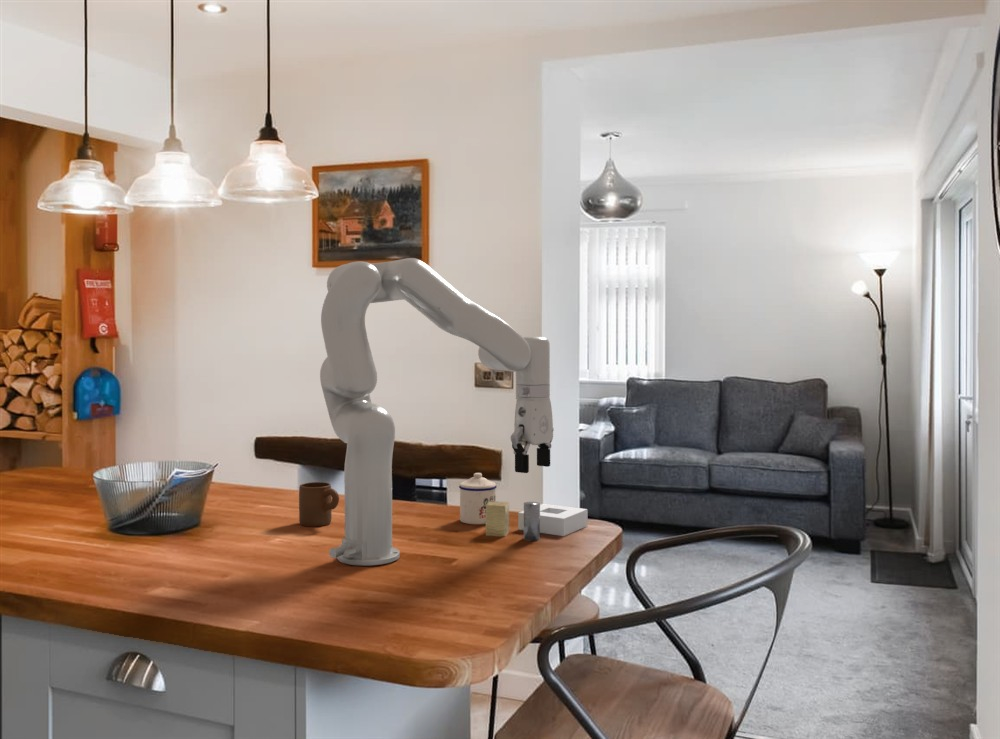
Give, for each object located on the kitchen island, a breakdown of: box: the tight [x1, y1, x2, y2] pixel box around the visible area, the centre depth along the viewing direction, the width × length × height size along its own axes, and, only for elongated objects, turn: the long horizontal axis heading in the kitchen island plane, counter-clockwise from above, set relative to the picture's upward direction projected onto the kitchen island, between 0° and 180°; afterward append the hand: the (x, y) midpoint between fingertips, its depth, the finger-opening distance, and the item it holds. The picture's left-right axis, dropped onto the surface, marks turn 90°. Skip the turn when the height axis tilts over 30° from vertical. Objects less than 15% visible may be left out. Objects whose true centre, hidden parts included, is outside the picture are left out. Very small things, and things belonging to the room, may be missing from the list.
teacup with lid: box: [458, 472, 497, 526], centre depth 212 cm, size 12×9×12 cm
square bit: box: [485, 501, 510, 538], centre depth 198 cm, size 4×4×7 cm
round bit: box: [523, 501, 541, 542], centre depth 193 cm, size 4×4×8 cm
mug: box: [298, 481, 340, 528], centre depth 206 cm, size 12×8×9 cm, turn 51°
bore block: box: [517, 503, 589, 537], centre depth 204 cm, size 12×12×4 cm
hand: (532, 469), depth 193 cm, fingers open, 9 cm apart
